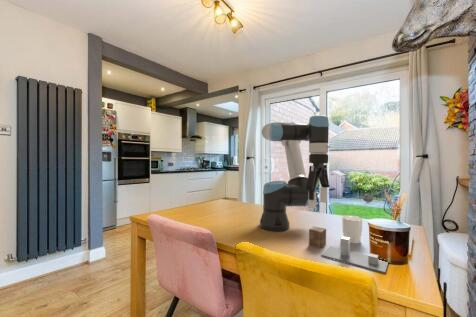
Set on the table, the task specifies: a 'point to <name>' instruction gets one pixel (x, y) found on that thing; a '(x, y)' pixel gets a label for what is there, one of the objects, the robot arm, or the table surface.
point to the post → (345, 246)
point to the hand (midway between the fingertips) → (318, 205)
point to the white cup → (352, 228)
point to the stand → (358, 259)
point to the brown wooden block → (317, 237)
